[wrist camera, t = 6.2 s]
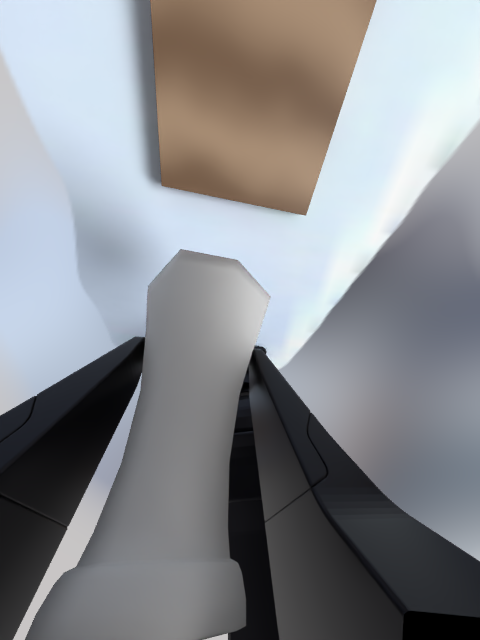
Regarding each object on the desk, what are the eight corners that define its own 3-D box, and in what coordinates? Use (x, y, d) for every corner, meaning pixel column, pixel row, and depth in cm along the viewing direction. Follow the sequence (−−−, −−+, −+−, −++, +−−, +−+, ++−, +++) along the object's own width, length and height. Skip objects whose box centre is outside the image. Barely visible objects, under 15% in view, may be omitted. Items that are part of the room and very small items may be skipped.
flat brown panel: (298, 213, 17) (305, 215, 15) (169, 187, 15) (161, 185, 14) (371, -22, 10) (397, -63, 9) (156, -110, 9) (139, -180, 7)
